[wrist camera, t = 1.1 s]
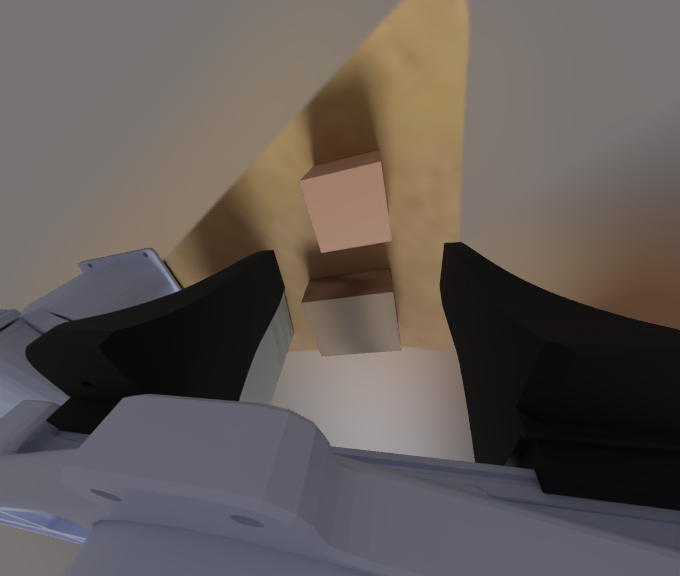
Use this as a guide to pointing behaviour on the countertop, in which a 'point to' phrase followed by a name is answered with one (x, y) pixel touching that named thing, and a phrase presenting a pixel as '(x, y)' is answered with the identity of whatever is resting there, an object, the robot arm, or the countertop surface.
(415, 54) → the countertop surface
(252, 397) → the supplement box
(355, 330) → the walnut slab
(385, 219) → the terracotta cube
